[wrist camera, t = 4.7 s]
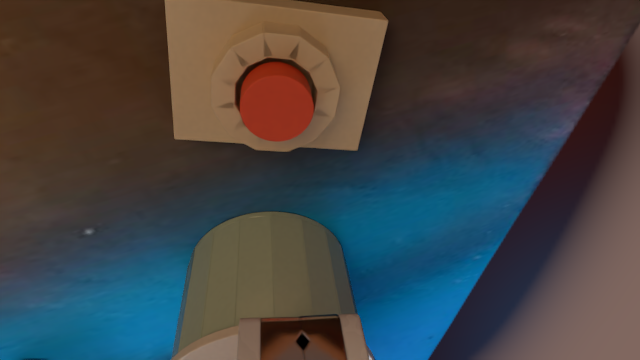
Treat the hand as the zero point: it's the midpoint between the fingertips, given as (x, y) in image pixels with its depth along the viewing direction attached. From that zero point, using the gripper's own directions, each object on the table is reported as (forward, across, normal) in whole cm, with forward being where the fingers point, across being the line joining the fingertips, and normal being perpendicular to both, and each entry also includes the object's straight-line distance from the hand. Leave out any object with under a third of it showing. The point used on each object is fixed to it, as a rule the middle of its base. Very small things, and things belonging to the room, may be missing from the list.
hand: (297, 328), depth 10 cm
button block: (+17, 0, 0) cm, 17 cm away
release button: (+14, 0, 0) cm, 14 cm away
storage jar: (+17, 0, -17) cm, 24 cm away
